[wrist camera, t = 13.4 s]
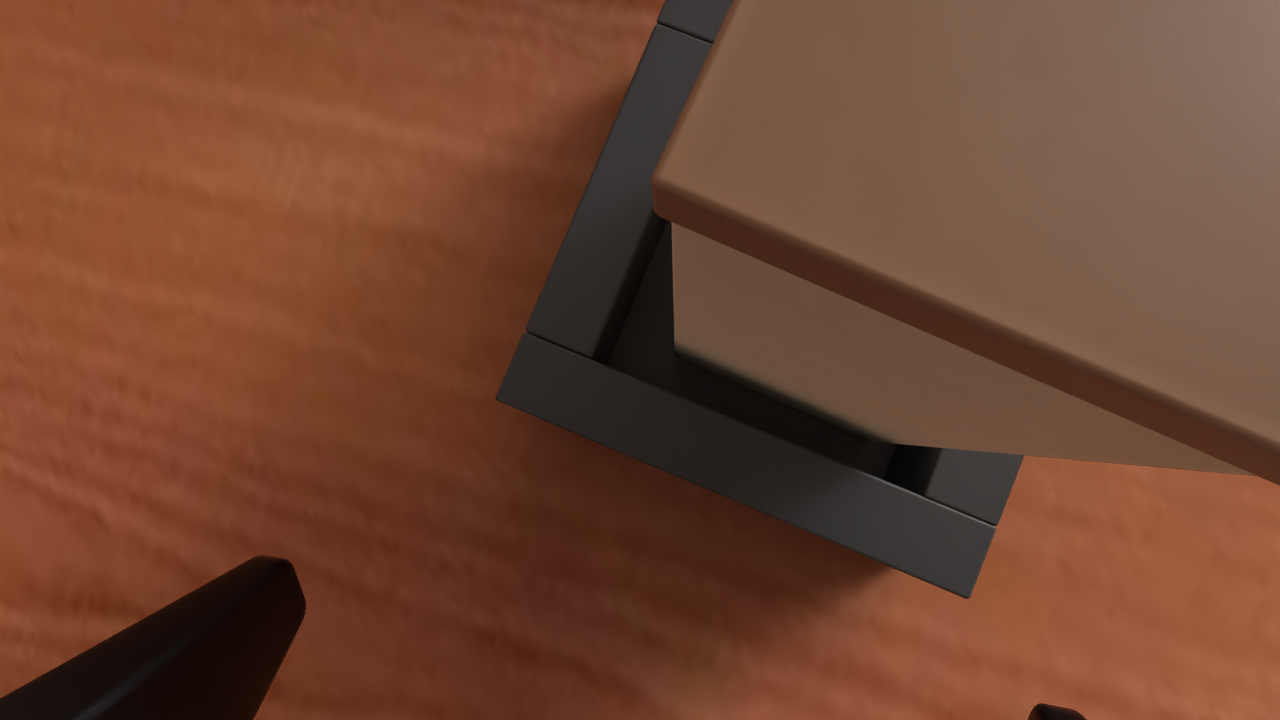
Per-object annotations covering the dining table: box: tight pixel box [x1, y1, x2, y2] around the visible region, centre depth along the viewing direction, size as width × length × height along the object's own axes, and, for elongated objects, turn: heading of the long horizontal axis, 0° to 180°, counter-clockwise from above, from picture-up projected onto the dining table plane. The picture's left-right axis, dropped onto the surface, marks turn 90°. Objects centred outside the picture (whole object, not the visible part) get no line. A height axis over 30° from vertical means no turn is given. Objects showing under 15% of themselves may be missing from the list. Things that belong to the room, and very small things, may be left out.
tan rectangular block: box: [651, 0, 1280, 485], centre depth 11 cm, size 5×5×13 cm
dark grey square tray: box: [496, 0, 1024, 599], centre depth 17 cm, size 10×10×4 cm
